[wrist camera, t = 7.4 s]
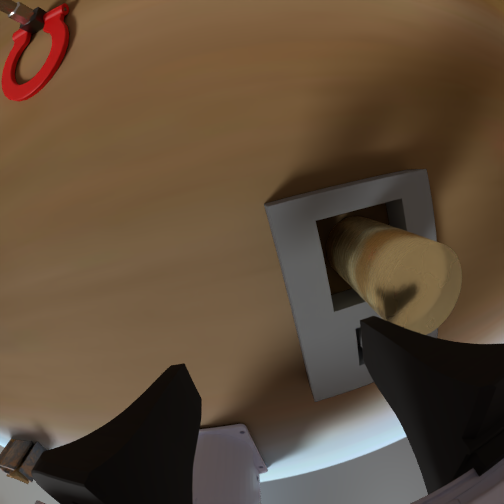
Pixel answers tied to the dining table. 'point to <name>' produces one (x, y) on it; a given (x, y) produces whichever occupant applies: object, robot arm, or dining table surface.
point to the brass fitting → (396, 272)
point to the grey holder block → (315, 276)
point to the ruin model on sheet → (20, 459)
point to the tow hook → (29, 25)
